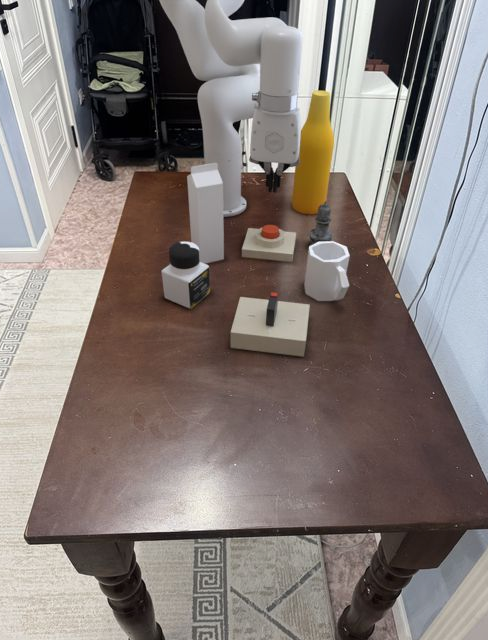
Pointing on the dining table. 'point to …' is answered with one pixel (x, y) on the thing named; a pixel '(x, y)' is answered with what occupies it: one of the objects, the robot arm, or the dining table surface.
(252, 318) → the beige flat block
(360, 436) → the dining table surface
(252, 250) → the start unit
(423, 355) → the dining table surface
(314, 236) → the gray chess piece
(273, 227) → the button
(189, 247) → the medicine bottle
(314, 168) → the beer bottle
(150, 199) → the dining table surface
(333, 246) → the mug
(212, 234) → the milk
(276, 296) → the knob
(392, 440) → the dining table surface
